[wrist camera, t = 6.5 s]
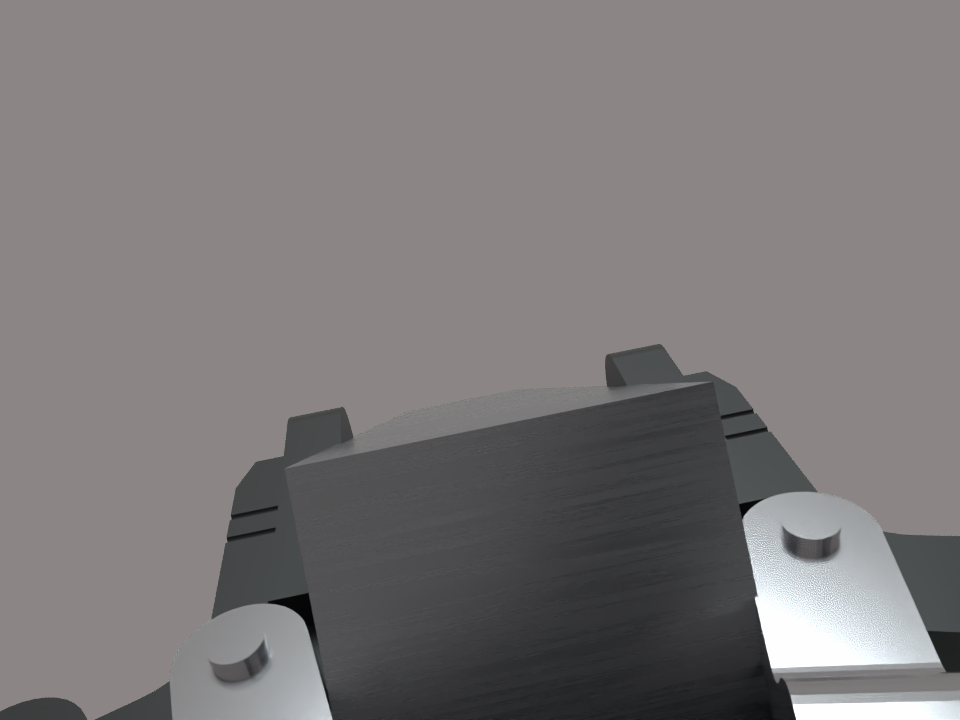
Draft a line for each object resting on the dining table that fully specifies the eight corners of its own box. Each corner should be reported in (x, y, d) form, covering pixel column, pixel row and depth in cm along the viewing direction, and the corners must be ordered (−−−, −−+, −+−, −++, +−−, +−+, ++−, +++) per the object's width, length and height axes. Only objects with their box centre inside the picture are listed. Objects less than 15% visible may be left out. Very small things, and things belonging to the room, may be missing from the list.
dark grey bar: (429, 520, 29) (407, 411, 29) (537, 498, 29) (515, 389, 29) (370, 909, 7) (284, 468, 7) (803, 811, 7) (713, 381, 7)
